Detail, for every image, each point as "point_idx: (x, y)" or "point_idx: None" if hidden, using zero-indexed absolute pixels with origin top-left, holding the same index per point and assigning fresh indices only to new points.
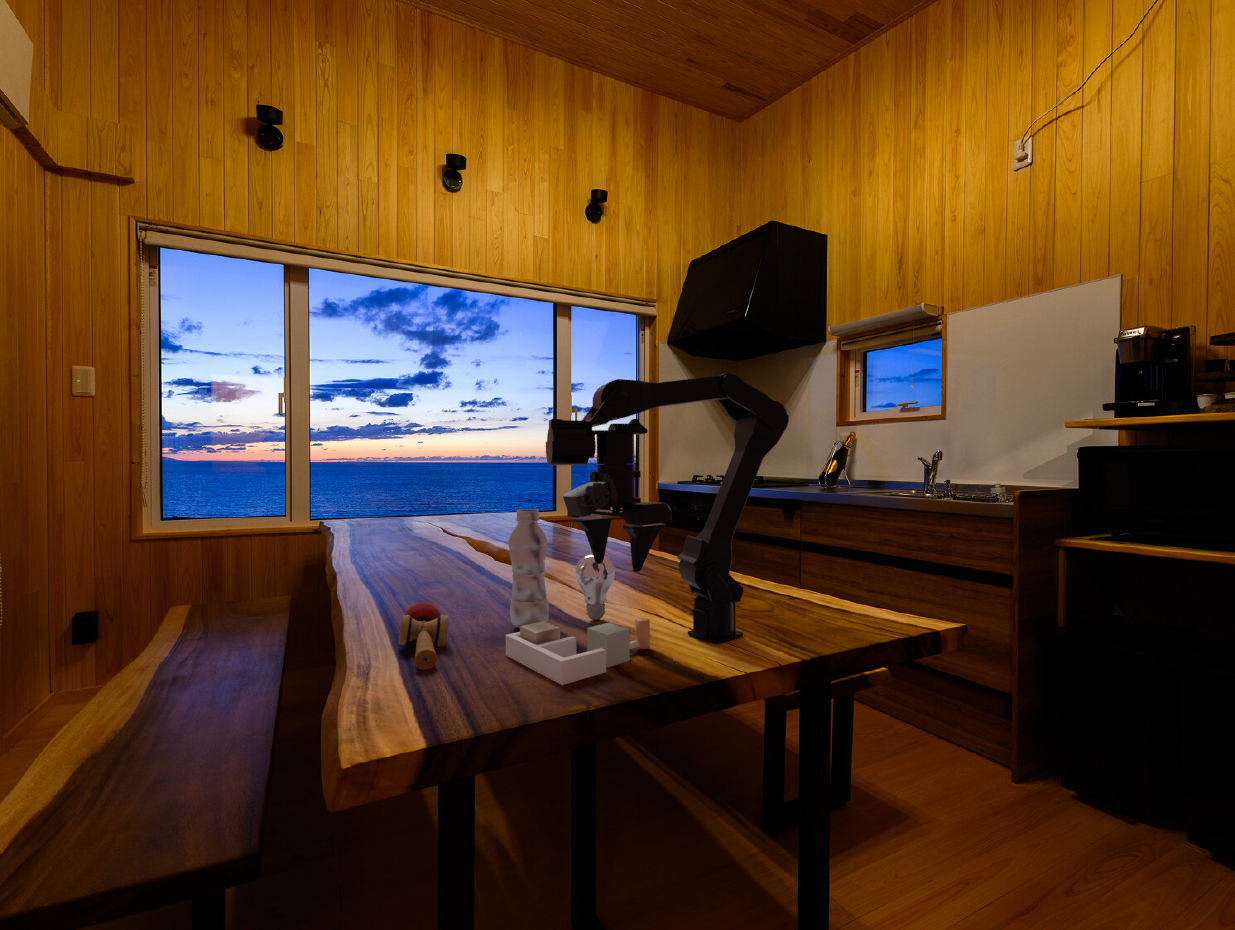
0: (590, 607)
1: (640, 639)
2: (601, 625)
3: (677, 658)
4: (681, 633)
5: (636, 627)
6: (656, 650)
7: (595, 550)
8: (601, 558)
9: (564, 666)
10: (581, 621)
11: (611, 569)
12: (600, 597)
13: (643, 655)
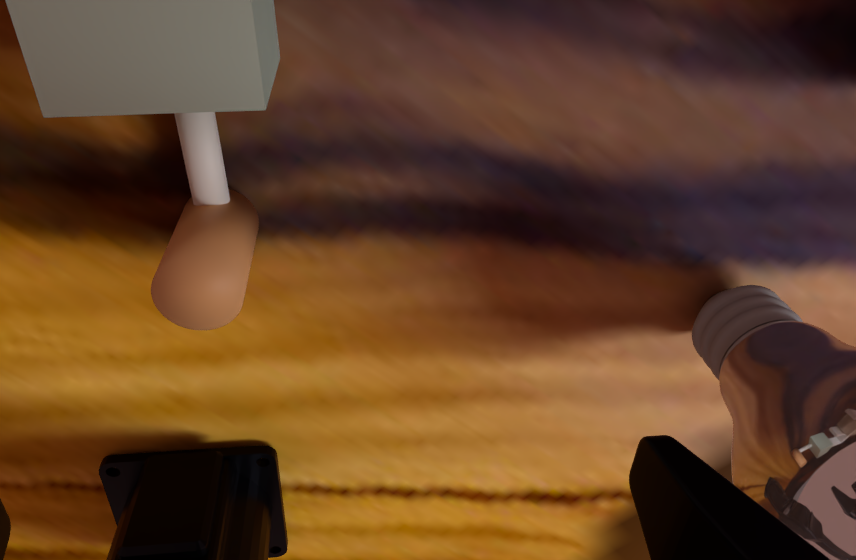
0: (755, 313)
1: (187, 214)
2: (231, 25)
3: (19, 252)
4: (311, 441)
5: (201, 238)
6: None
7: (728, 552)
8: (651, 513)
9: None
10: (768, 252)
11: None
12: (733, 379)
13: (142, 164)
